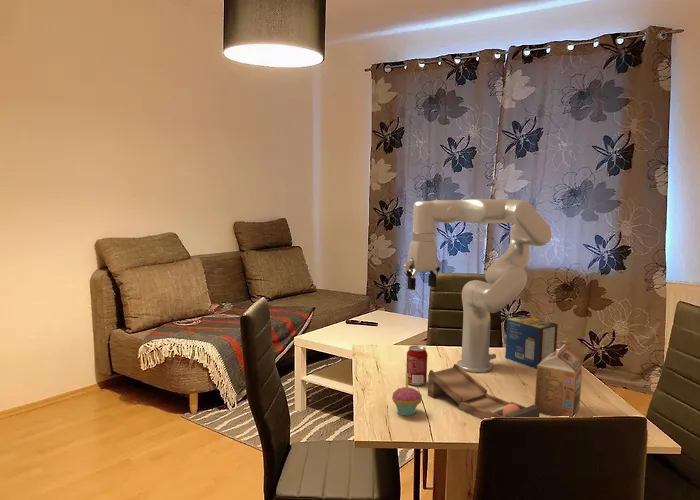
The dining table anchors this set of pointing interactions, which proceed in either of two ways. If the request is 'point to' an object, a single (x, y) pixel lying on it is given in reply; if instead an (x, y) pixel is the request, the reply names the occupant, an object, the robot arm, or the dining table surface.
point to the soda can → (417, 365)
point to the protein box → (530, 340)
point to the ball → (510, 409)
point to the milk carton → (559, 383)
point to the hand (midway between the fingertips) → (421, 287)
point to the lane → (472, 395)
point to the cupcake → (406, 399)
